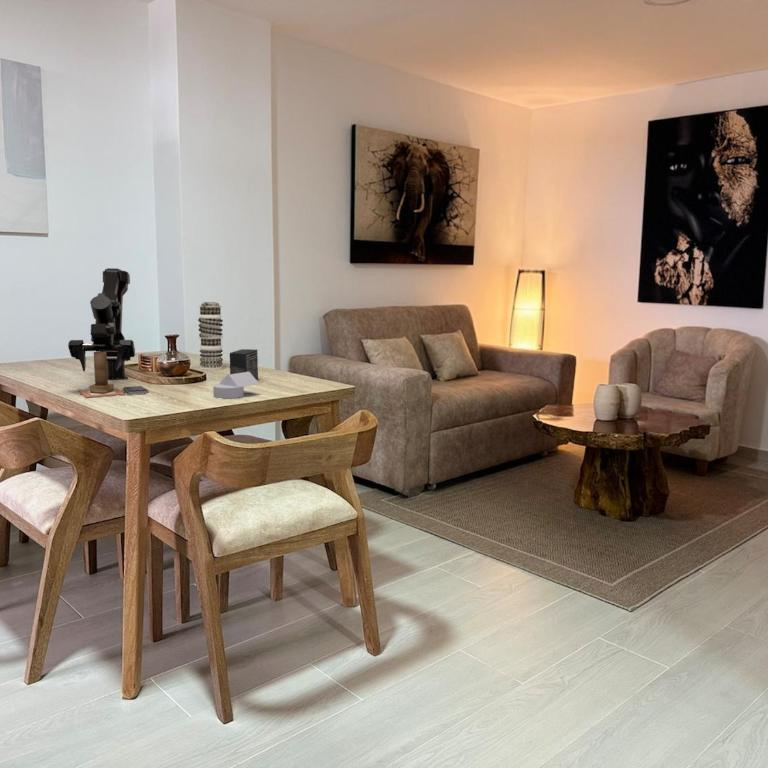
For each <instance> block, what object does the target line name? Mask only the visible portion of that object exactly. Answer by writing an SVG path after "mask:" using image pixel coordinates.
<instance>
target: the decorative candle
mask: <svg viewBox="0 0 768 768" xmlns="http://www.w3.org/2000/svg"><path fill="white" fill-rule="evenodd" d="M221 308H222V306H221V305H220V304H219V303H218V302H216V301H215V302H214V301H205V302H204V301H203V302H202V303H201V305H200V306H199V318H198V319H197V321H198V322H199V324H198V331H199V332H200V333H198V336H199V337H198V338H200V346H199V347H200V350H199V353H200V354H199V356H200V359H199V362H200V363H199V365H200V367H199V369H201V370H206V371H208V370H209V371H210V370H211V371H214V370H222V369H223V364H224V363H223V360H224V359H223V355H224V354H223V353H222V352H223V351H224V350H223V349H222V348H223V347H222V346H223V345H222V338H223V333H222V332H223V328H221V327H223V325H224V324H223V321H224V320H223V319H222V314H221Z"/></svg>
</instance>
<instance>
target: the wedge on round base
mask: <svg viewBox="0 0 768 768" xmlns="http://www.w3.org/2000/svg"><path fill="white" fill-rule="evenodd" d="M259 384H260V382H259V381H258V379H255V378H254V377H253V375H252V374H251V373H250V372H243V373H236V374H230V373H229V374H227V375H226V376H225V377H224V378H223V379H221V381H220V382H219V383H216V384H213V398H214V397H215V399H218V398H223V399H222V400H235V399H234V398H237V399H240V398H239V397H242V398H244V397H243V396H245V393H244V391H245V390H244V388H245V387H248V386H254V385H259Z"/></svg>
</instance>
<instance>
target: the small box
mask: <svg viewBox="0 0 768 768" xmlns="http://www.w3.org/2000/svg"><path fill="white" fill-rule="evenodd" d="M258 358H259V357H258V349H253V348H251V349H246V348H245V349H244V348H243V349H242V348H241V349H238V350H235V351H232V352H229V374H236V373H243V372H250V373H251V374H252V375H253V377H254V378H255V379H256V380H258V379H259V366H258V365H259V364H258V363H259V361H258V360H259V359H258Z"/></svg>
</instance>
